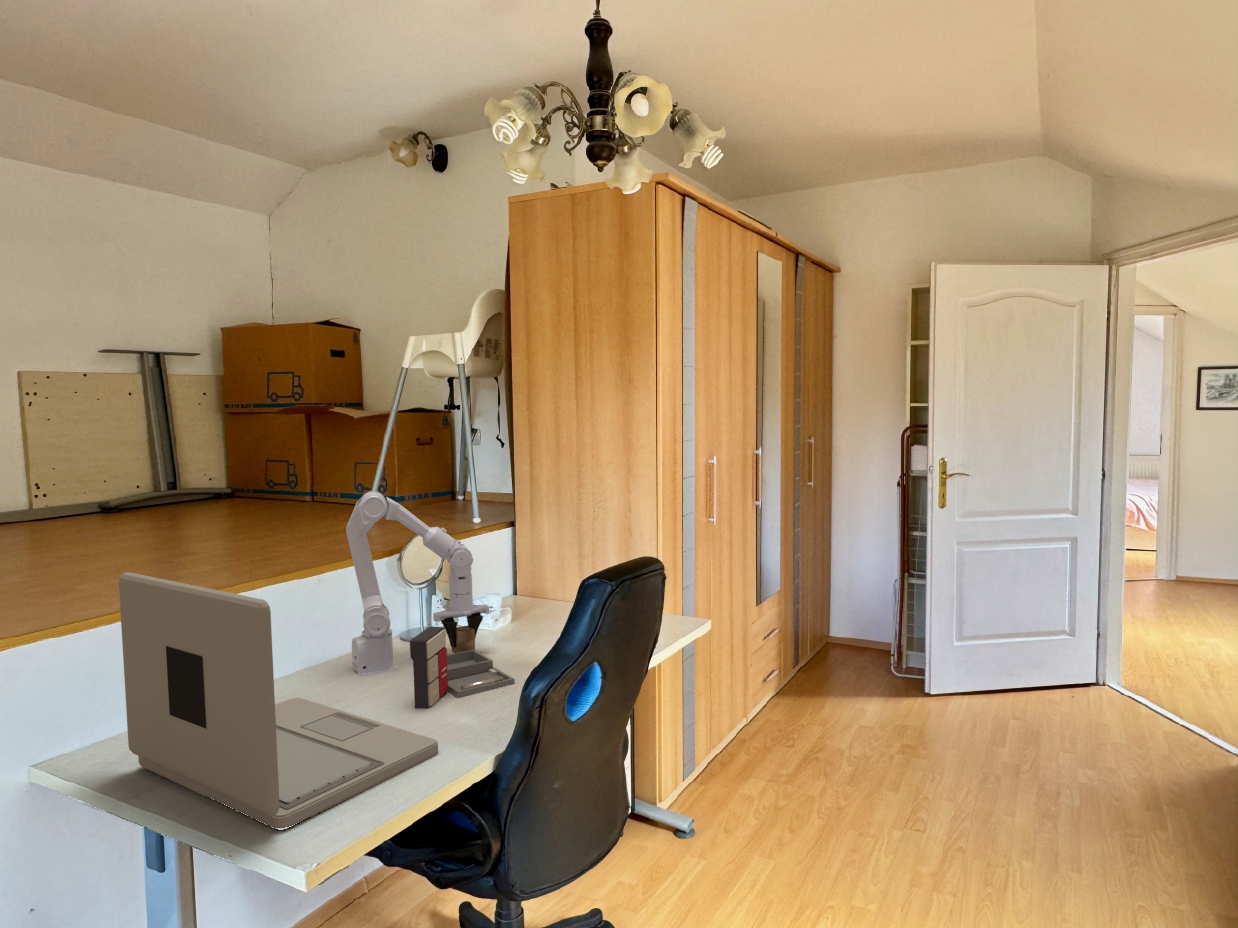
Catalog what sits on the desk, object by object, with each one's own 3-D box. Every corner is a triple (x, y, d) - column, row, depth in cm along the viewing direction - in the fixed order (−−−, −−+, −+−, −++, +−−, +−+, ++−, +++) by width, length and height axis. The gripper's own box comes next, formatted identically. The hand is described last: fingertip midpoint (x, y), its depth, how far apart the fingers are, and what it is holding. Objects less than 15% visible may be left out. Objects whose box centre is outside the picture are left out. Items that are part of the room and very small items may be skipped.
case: (438, 684, 183) (437, 671, 183) (420, 672, 192) (420, 660, 192) (493, 672, 191) (492, 660, 191) (473, 661, 200) (473, 649, 200)
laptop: (442, 755, 146) (436, 562, 143) (270, 841, 117) (259, 602, 115) (297, 708, 170) (290, 543, 168) (126, 771, 141) (114, 572, 139)
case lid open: (457, 698, 174) (457, 691, 174) (438, 684, 183) (438, 678, 183) (514, 685, 182) (514, 678, 182) (493, 672, 191) (493, 666, 191)
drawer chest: (431, 710, 167) (428, 640, 166) (411, 709, 168) (409, 640, 167) (450, 691, 178) (447, 626, 177) (431, 690, 179) (429, 626, 178)
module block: (458, 655, 199) (458, 631, 199) (451, 651, 203) (451, 627, 203) (475, 652, 202) (474, 628, 202) (467, 647, 206) (467, 624, 205)
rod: (463, 686, 176) (460, 684, 177) (463, 692, 176) (460, 690, 177) (503, 677, 182) (501, 675, 183) (503, 683, 182) (500, 681, 183)
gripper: (440, 599, 194) (441, 653, 195) (493, 591, 203) (495, 642, 204) (429, 594, 200) (431, 646, 201) (481, 586, 209) (483, 636, 209)
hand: (462, 644), depth 203 cm, fingers closed on module block, 4 cm apart
